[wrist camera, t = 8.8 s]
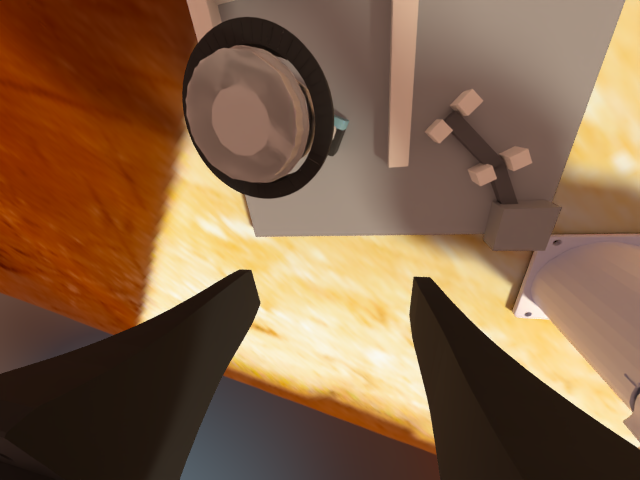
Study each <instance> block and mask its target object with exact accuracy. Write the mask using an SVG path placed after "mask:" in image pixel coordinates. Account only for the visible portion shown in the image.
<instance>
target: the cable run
mask: <svg viewBox="0 0 640 480" xmlns="http://www.w3.org/2000/svg"><path fill="white" fill-rule="evenodd" d="M482 102H483V100H482V99H481V97H480V96H479V95H478V94H477V93H476V92H475V91H474V90H473V89H470V90H466V91H463V92H462V93H461V94H460V95H459V96H458V97H457V98H456V99H455V101H454V102H453V103H452V104H451V105H450V106H451V108H452V109H453V110H454V111H452V112H451V113H450V114H449V115H448V116H447V117H446V118H445V119H444V120H443V119H436V120H435V121H434V122H433V123H432V124H431V125H430V126H429V127H428V128H427V129H426V131H425V133H426V134H427V135H428V136H429V137H430V138H431V139H432V140H433V141H434V142H437V143H441V142H442V141H443V140H444V139H445V138H446V137H447V136H448V135H449V134H450V133H452V134H453V135H454V136H455V137H456V138H457V139H458V140H459V141H460V142H461V143H462V144H463V146H464V147H465V148H466V149H467V150H468V151H469V152H470V153H471V154H472V155H473V156H474V157H475V158H476V159H477V160H478V161H479V162H480V163H479V164H477V165H475V166H473V167H471V168H469V169H468V172H469V175H470V177H471V180H472V181H473V182H474V183H476V184H478V185H479V186H482V185H485V184H487V183H489V182H491V185H492V188H493V191H494V193H495V196H496V199H497V201H492V204H491V208H490V213H489V217H488V221H487V225H486V229H485V233H484V238H483V241H484V242H485V243H486V244H487V245H488V246H489V247H490V248H491V249H492V250H493V251H545V249H546V247H547V244H548V242H549V239H550V237H551V234H552V231H553V229H554V226H555V224H556V221H557V218H558V216H559V213H560V211H561V208H562V207H560V206H558V205H556V204H553V203H551V202H549V201H547V200H545V199H537V200H517V199H516V195H515V192H514V189H513V186H512V183H511V180H510V177H509V174H508V171H507V169H509V170H512V171H516V170H518V169H520V168H522V167H525V166H527V165H529V164H531V163H532V160H531V156H530V153H529V149H527V148H522V147H517V146H514V147H512V148H510V149H508V150H506V151H504V152H502V153H499V154H497V153H496V152H495V151H494V150H493V149H492V148H491V147H490V146H489V145H488V144H487V143H486V141H485V140H484V139H483V138H482V137H481V136H480V135H479V134H478V133H477V132H476V131H475V130H474V129H473V128H472V127H471V125H470V124H469V123H468V122H467V121H466V120H465V119H464V118H463V117H462V116H469V115H470V114H471V113H472V112H473V111H474V110H475V109H476V108H477V107H478V106H479V105H480V104H481V103H482Z"/></svg>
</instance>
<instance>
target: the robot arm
mask: <svg viewBox="0 0 640 480" xmlns="http://www.w3.org/2000/svg"><path fill="white" fill-rule="evenodd" d="M555 240H558V241H557V242H556V243H553V242H554V241H555ZM259 306H260V300H259V296H258V292H257V289H256V285H255V282H254V278H253V274H252V271H251V270H238V271H236V272H234V273H232V274H230V275H228V276H227V277H225V278H223V279H222V280H220V281H218V282H217V283H215V284H213V285H212V286H210V287H208V288H207V289H205V290H203V291H202V292H200V293H198V294H197V295H195V296H193V297H191V298H189V299H188V300H186V301H184V302H182V303H181V304H179V305H177V306H175V307H173V308H172V309H170V310H168V311H166V312H164V313H162V314H160V315H158V316H156V317H154V318H152V319H150V320H148V321H146V322H143V323H141V324H139V325H137V326H135V327H132V328H130V329H127V330H125V331H123V332H120V333H118V334H116V335H113V336H111V337H108V338H106V339H104V340H101V341H98V342H96V343H93V344H90V345H88V346H85V347H82V348H79V349H77V350H74V351H71V352H68V353H65V354H63V355H59V356H57V357H54V358H50V359H47V360H44V361H41V362H38V363H34V364H31V365H28V366H25V367H21V368H18V369H15V370H12V371H9V372H5V373H2V374H0V480H180V477H181V474H182V471H183V469H184V466H185V463H186V460H187V458H188V455H189V453H190V450H191V448H192V445H193V443H194V440H195V437H196V435H197V432H198V430H199V427H200V425H201V423H202V420H203V418H204V416H205V413H206V411H207V409H208V406H209V404H210V402H211V400H212V397H213V395H214V393H215V391H216V389H217V386H218V384H219V382H220V380H221V378H222V376H223V374H224V372H225V370H226V368H227V367H228V365H229V363H230V361H231V360H232V358H233V356H234V355H235V353H236V351H237V349H238V348H239V346H240V344H241V342H242V341H243V339H244V337H245V335H246V334H247V332H248V330H249V328H250V327H251V325H252V323H253V321H254V318H255V316H256V314H257V311H258V308H259ZM512 312H513V314H514V315H515V316H516V317H518V318H533V319H550V320H551V322H552V323H553V324H554V325H555V326H556V327H557V328H558V329H559V330H560V332H561V333H562V334H563V335H564V336H565V337H566V338H567V339H568V341H569V342H570V343H571V344H572V345H573V346H574V347H575V348H576V350H577V351H578V352H579V353H580V354H581V355H582V356H583V357H584V358H585V360H586V361H587V362H588V363H589V364H590V365H591V366H592V367H593V369H594V370H595V371H596V372H597V373H598V374H599V375H600V376H601V377H602V379H603V380H604V381H605V382H606V383H607V384H608V385H609V386H610V388H611V389H612V390H613V391H614V392H615V393H616V394H617V395H618V397H619V398H620V399H621V400H622V401H623V402H624V403H625V404H626V405H627V407H628V408H629V409H630V410H631V411H632V412H633V413H632V415H631V416H629V417H628V418H627V419H625V420H623V423H624V424H625V425H626V426H627V428H628V429H629V430H630V431H631V432H632V434H633V435H634V436H635V437H636V438H637V440H638V441H639V442H640V234H564V235H551V237H550V239H549V242H548V244H547V247H546V249H545V251H534V253H533V255H532V258H531V261H530V264H529V266H528V269H527V272H526V275H525V277H524V280H523V283H522V286H521V288H520V291H519V294H518V297H517V300H516V302H515V305H514V308H513V311H512ZM526 312H527V313H526ZM409 315H410V323H411V331H412V338H413V343H414V347H415V351H416V355H417V359H418V363H419V367H420V371H421V375H422V379H423V383H424V387H425V391H426V395H427V399H428V404H429V409H430V414H431V420H432V427H433V433H434V439H435V446H436V453H437V459H438V465H439V473H440V479H441V480H640V447H638V448H637V447H635V446H634V445H632V444H631V443H629V442H628V441H626V440H625V439H623V438H622V437H620V436H619V435H617V434H616V433H614V432H613V431H611V430H610V429H608V428H607V427H605V426H604V425H602V424H601V423H599V422H598V421H597V420H595V419H594V418H592V417H591V416H589V415H588V414H586V413H585V412H584V411H582V410H581V409H579V408H578V407H576V406H575V405H574V404H572V403H571V402H569V401H568V400H567V399H565V398H564V397H563V396H561V395H560V394H558V393H557V392H556V391H554V390H553V389H552V388H550V387H549V386H548V385H546V384H545V383H543V382H542V381H541V380H539V379H538V378H537V377H536V376H534V375H533V374H532V373H530V372H529V371H528V370H526V369H525V368H524V367H523V366H522V365H520V364H519V363H518V362H517V361H515V360H514V359H513V358H512V357H511V356H509V355H508V354H507V353H506V352H504V351H503V350H502V349H501V348H500V347H499V346H497V345H496V344H495V343H494V342H493V341H492V340H491V339H489V338H488V337H487V336H486V335H485V334H484V333H483V332H482V331H481V330H480V329H479V328H478V327H477V326H476V325H475V324H473V323H472V322H471V321H470V320H469V319H468V318H467V317H466V316H465V314H464V313H463V312H462V311H461V310H460V309H459V308H458V307H457V306H456V305H455V304H454V303H453V302H452V301H451V300H450V299H449V298H448V297H447V295H446V294H445V293H444V292H443V291H442V290H441V289H440V288H439V287H438V285H437V284H436V283H435V282H434V281H433V280H432V279H431V278H430V277H414V279H413V288H412V296H411V305H410V314H409Z"/></svg>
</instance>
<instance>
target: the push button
mask: <svg viewBox="0 0 640 480" xmlns="http://www.w3.org/2000/svg"><path fill="white" fill-rule="evenodd" d="M275 56H276V57H281V58H283V59H286V60H288V61H289V62H290V63H291V64H292V65H293V66H294V67H295V68H296V70H297V71H298V72H299V74H300V75H301V77H302V79H303V80H304V82H305V84H306V86H307V88H308V89H307V88H306V87H305V86H304V85H302V84H301V83H300V82H299V81H298V80H297V79H295V77H294V75H293V73H292V72H291V71H290V69H289V68H288V67H287V66H286V65H285V64H283V63H282V62H281V61H280V60H278V59H277V58H276V57H275ZM182 95H183V111H184V116H185V121H186V125H187V129H188V132H189V134H190V137H191V140H192V142H193V144H194V146H195V148H196V150H197V152H198V154H199V155H200V157H201V158H202V160H203V161H204V163H205V164H206V165H207V167H208V168H209V169H210V170H211V171H212V172H213V173H214V174H215V175H216V176H217V177H218V178H219V179H220V180H221V181H222V182H224V183H225V184H226V185H228V186H229V187H231V188H233V189H234V190H236V191H238V192H240V193H242V194H245V195H248V196H251V197H256V198H262V199H273V198H280V197H284V196H287V195H290V194H292V193H294V192H296V191H298V190H300V189H301V188H303V187H304V186H305V185H306V184H308V183H309V182H310V181H311V180H312V179H313V178H314V177H315V175H316V174H317V173H318V172H319V170H320V169H321V167H322V166H323V164H324V162H325V160H326V158H327V156H328V155H329V156H334V155H335V154H336V153H337V152H338V149H339V146H340V144H341V141H342V139H343V136H344V133H345V131H346V128H347V125H348V123H349V120H347V119H345V118H343V117H339V116H336V115H334V107H333V100H332V96H331V91H330V88H329V85H328V82H327V80H326V77H325V75H324V73H323V71H322V69H321V67H320V65H319V63H318V62H317V60H316V59H315V57H314V56H313V55H312V53H311V52H310V51H309V50H308V49H307V47H306V46H305V45H304V44H303V43H302V42H301V41H300V40H299V39H298V38H297V37H296V36H295V35H294V34H292V33H291V32H289V31H288V30H287V29H285V28H284V27H282V26H280V25H278V24H276V23H274V22H271V21H269V20H266V19H262V18H257V17H238V18H233V19H229V20H227V21H224V22H222V23H220V24H218V25H217V26H215V27H213V28H212V29H211V30H210V31H208V32H207V33H206V34H205V35H204V36H203V37H202V38H201V40H200V41H199V42H198V44H197V45H196V47H195V48H194V50H193V52H192V54H191V56H190V58H189V61H188V63H187V67H186V70H185V75H184V80H183V91H182ZM309 151H310V152H309ZM308 152H309V154H308ZM307 154H308V156H307V158H306V160H305V162H304V163H303V164H302V166H301V167H300V168H299V169H298V170H297V171H296V172H293V173H291V174H288V173H290V172H291V171H292V169H293V168H294V167H295V165H296V164H297V163H298V162H299V160H300V159H301V158H303V157H304V156H306V155H307Z"/></svg>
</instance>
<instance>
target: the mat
mask: <svg viewBox="0 0 640 480" xmlns="http://www.w3.org/2000/svg"><path fill="white" fill-rule="evenodd" d="M624 3H625V0H419V5H418V21H417V37H416V52H415V68H414V84H413V100H412V116H411V131H410V147H409V163H408V166H405V167H392V168H389V167H388V126H389V84H390V41H391V0H234V1H231V2H227V3H223V4H219V5H218V9H219V13H220V17H221V22H224V21H227V20H229V19H233V18H238V17H257V18H262V19H266V20H269V21H271V22H274V23H276V24H278V25H280V26H282V27H284V28H285V29H287V30H288V31H289V32H291V33H292V34H294V35H295V36H296V37H297V38H298V39H299V40H300V41H301V42H302V43H303V44H304V45H305V46H306V47H307V49H308V50H309V51H310V52H311V53H312V55H313V56H314V57H315V59H316V60H317V62H318V63H319V65H320V67H321V69H322V71H323V73H324V75H325V77H326V80H327V82H328V85H329V88H330V91H331V96H332V100H333V107H334V115H336V116H339V117H343V118H345V119H347V120H349V123H348V125H347V128H346V131H345V133H344V136H343V139H342V141H341V144H340V146H339V149H338V152H337V153H336V154H335V155H334V156H329V155H328V156H327V158H326V160H325V162H324V164H323V166H322V167H321V169H320V170H319V172H318V173H317V174H316V175H315V177H314V178H313V179H312V180H311V181H310V182H309V183H308V184H306V185H305V186H304V187H303V188H301V189H300V190H298V191H296V192H294V193H292V194H290V195H287V196H284V197H280V198H273V199H262V198H256V197H251V196H248V195H245V197H246V201H247V205H248V209H249V213H250V216H251V220H252V224H253V228H254V232H255V235H256V237H275V236H356V235H436V234H484V233H485V229H486V225H487V221H488V217H489V213H490V208H491V204H492V201H497V199H496V196H495V193H494V191H493V188H492V185H491V182H489V183H487V184H485V185H482V186H479V185H478V184H476V183H474V182H473V181H472V180H471V177H470V175H469V172H468V169H469V168H471V167H473V166H475V165H477V164H479V163H480V162H479V161H478V160H477V159H476V158H475V157H474V156H473V155H472V154H471V153H470V152H469V151H468V150H467V149H466V148H465V147H464V146H463V144H462V143H461V142H460V141H459V140H458V139H457V138H456V137H455V136H454V135H453V134H452V133H450V134H449V135H448V136H447V137H446V138H445V139H444V140H443V141H442V142H441V143H437V142H434V141H433V140H432V139H431V138H430V137H429V136H428V135H427V134H426V133H425V131H426V129H427V128H428V127H429V126H430V125H431V124H432V123H433V122H434V121H435V120H436V119H443V120H444V119H445V118H446V117H447V116H448V115H449V114H450V113H451V112H452V111H454V110H453V109H452V108H451V106H450V105H451V104H452V103H453V102H454V101H455V99H456V98H457V97H458V96H459V95H460V94H461V93H462V92H463V91H466V90H470V89H473V90H474V91H475V92H476V93H477V94H478V95H479V96H480V97H481V99H482V100H483V102H482V103H481V104H480V105H479V106H478V107H477V108H476V109H475V110H474V111H473V112H472V113H471V114H470V115H469V116H462V117H463V118H464V119H465V120H466V121H467V122H468V123H469V124H470V125H471V127H472V128H473V129H474V130H475V131H476V132H477V133H478V134H479V135H480V136H481V137H482V138H483V139H484V140H485V141H486V143H487V144H488V145H489V146H490V147H491V148H492V149H493V150H494V151H495V152H496V153H497V154H499V153H502V152H504V151H506V150H508V149H510V148H512V147H514V146H517V147H522V148H527V149H529V153H530V156H531V160H532V163H531V164H529V165H527V166H525V167H522V168H520V169H518V170H516V171H512V170H509V169H507V171H508V174H509V177H510V180H511V183H512V186H513V189H514V192H515V195H516V199H517V200H537V199H545V200H547V201H549V202H551V203H552V201H553V198H554V195H555V193H556V190H557V187H558V184H559V182H560V179H561V176H562V173H563V171H564V168H565V165H566V162H567V159H568V157H569V154H570V151H571V148H572V146H573V143H574V140H575V137H576V135H577V132H578V129H579V126H580V124H581V121H582V118H583V115H584V113H585V110H586V107H587V104H588V102H589V99H590V96H591V93H592V91H593V88H594V85H595V82H596V80H597V77H598V74H599V71H600V69H601V66H602V63H603V60H604V58H605V55H606V52H607V49H608V47H609V44H610V41H611V38H612V36H613V33H614V30H615V27H616V25H617V22H618V19H619V16H620V14H621V11H622V8H623V5H624ZM275 57H276V56H275ZM276 58H277V59H278V60H280V61H281V62H282V63H283V64H285V65H286V66H287V67H288V68H289V69H290V71H291V72H292V73H293V75H294V77H295V79H297V80H298V81H299V82H300V83H301V84H302V85H304V86H305V87H306V88H307V86H306V84H305V82H304V80H303V79H302V77H301V75H300V74H299V72H298V71H297V70H296V68H295V67H294V66H293V65H292V64H291V63H290V62H289V61H288V60H286V59H283V58H281V57H276ZM307 89H308V88H307ZM309 152H310V151H309ZM309 152H308V154H309ZM308 154H307V155H306V156H304V157H303V158H301V159H300V160H299V162H298V163H297V164H296V165H295V167H294V168H293V169H292V171H291V172H290V173H288V174H291V173H293V172H296V171H297V170H298V169H299V168H300V167H301V166H302V164H303V163H304V162H305V160H306V158H307V156H308Z"/></svg>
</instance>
